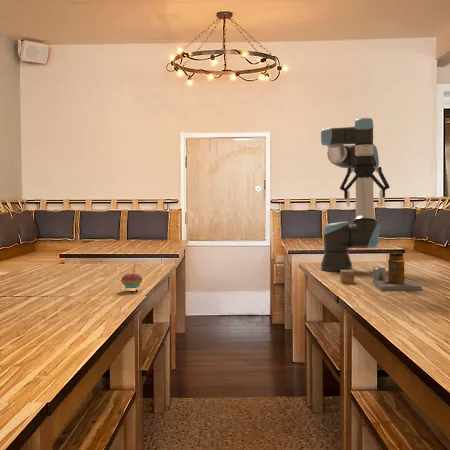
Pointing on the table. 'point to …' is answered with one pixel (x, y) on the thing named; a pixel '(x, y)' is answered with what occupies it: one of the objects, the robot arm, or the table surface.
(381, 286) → the board
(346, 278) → the walnut block
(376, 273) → the metal canister
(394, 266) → the condiment
